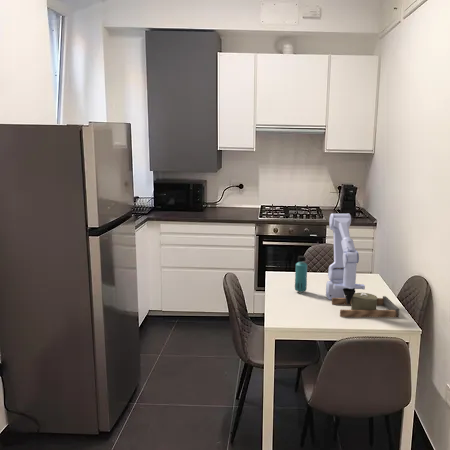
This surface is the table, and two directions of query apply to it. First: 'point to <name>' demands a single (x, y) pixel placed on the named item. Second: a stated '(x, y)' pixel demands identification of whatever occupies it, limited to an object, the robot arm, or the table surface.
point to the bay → (391, 312)
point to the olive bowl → (363, 301)
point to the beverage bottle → (301, 274)
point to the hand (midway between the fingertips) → (348, 303)
